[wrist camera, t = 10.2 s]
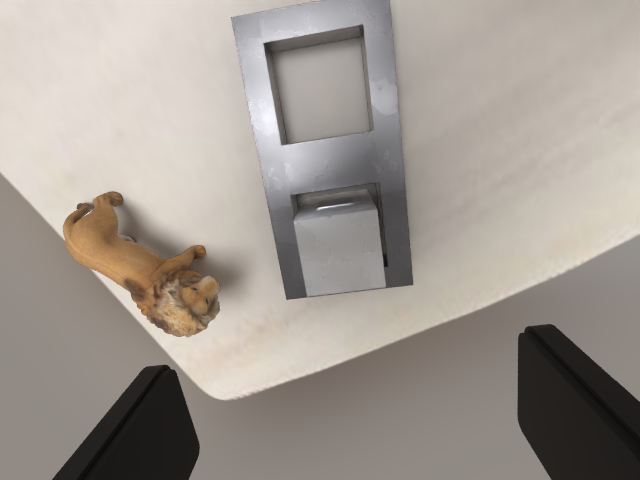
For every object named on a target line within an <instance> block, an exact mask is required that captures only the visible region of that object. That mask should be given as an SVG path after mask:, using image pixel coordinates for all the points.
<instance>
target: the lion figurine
mask: <svg viewBox="0 0 640 480" xmlns="http://www.w3.org/2000/svg"><path fill="white" fill-rule="evenodd" d="M121 201H122V198H121V196H120V194H118V193H116V192H108V193H104V194H102V195H100V196H98V197H96V198H94V200H93V204H94V209H93V211H92V212H91V213H90V214H88V215H86V214H87V213H88V212H90V210H91V209H90V207H89V206H88V205H87V204H86V203H84V204H82V203H80V204H78V205H77V209H78V210H76V211H74V212H73V213H72V214H70V215H69V216H68V217H67V219H66V220H65V222H64V225H63V233H64V237H65V245H66V247H67V249H68V251H69V252H70V254H71V255H72V256H73V258H74V259H75V260H76V261H77V262H79V263H80V264H81V265H83V266H86V267H88V268H91V269H93V270H95V271H97V272H100V273H101V274H103V275H105V276H106V277H108V278H110V279H111V280H113V281H114V282H116V283H117V284H119V285H120V286H122V287H123V288H125V289H126V290H128V291H129V292H131V297H132V299H133V301H134V302H136V303H137V307H138V308H139V309H141V313H142V314H143V315H146V316H147V320H150V323H154V324H155V325H156V326H157V327H158V328H161V329H163V330H164V332H165V333H167V334H172V335H174V336H177V337H181V336H184V335H185V336H186V337H190V336H191V335H195V334H197V333H199V332H201V331H202V330H204V329H206V328H207V326H208V323H209V322H210V321H211V320H213V319H214V318H215V317H216V315H217V314H218V313H219V311H220V305H219V301H218V297H217V295H216V294H217V293H218V292H219V291H220V285H219V281H218V280H217V279H216V278H215V277H212V276H206V277H204V278H203V277H202V276H201V275H200V274H199V273H198V272H195V271H194V270H193V269H191V268H189V267H190V264H191V262H192V260H194V259H198V260H199V259H202V258H203V257H204V256H205V250H204V248H203V246H200V245H198V246H193V247H190V248H189V249H188V250H186V251H185V252H184V253H183V254H181V255H178V256H175V257H170V258H168V259H167V260H166V261H165V260H164V259H162V258H161V257H160V256H158V255H157V254H156V253H154V252H153V251H151V250H149V249H147V248H145V247H143V246H141V245H139V244H136V243H135V242H134V240H133V239H132V238H131V237H129V236H126V235H120V234H118V220H117V215H116V213H115V211H114V209H113V208H112V206H114V207H116V206H118V205H121V204H122V202H121ZM84 215H86V216H84ZM83 216H84V217H83ZM82 217H83V218H82Z"/></svg>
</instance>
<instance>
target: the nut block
mask: <svg viewBox="0 0 640 480" xmlns="http://www.w3.org/2000/svg"><path fill="white" fill-rule="evenodd" d="M294 227H295V232H296V238H297V243H298V249H299V254H300V260H301V265H302V271H303V276H304V282H305V287H306V293H307V297H310V296H318V295H326V294H334V293H343V292H351V291H359V290H367V289H376V288H384V287H386V283H385V274H384V265H383V256H382V247H381V238H380V229H379V220H378V211H377V208H376V206H375V204H374V202H373V200H372V199H371V197H370V195H369V193H368V191H367V189H362V190H355V191H349V192H342V193H335V194H328V195H321V196H315V197H308V198H305V199H304V201H303V203H302V205H301V207H300V209H299V211H298V213H297V215H296V217H295V219H294Z"/></svg>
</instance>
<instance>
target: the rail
mask: <svg viewBox="0 0 640 480" xmlns="http://www.w3.org/2000/svg"><path fill="white" fill-rule="evenodd" d="M231 20H232V25H233V30H234V36H235V41H236V46H237V51H238V56H239V61H240V66H241V71H242V76H243V81H244V86H245V91H246V96H247V101H248V107H249V112H250V117H251V122H252V127H253V132H254V137H255V142H256V147H257V152H258V157H259V162H260V167H261V173H262V178H263V183H264V188H265V193H266V198H267V203H268V208H269V213H270V218H271V223H272V228H273V233H274V238H275V244H276V249H277V254H278V259H279V264H280V269H281V274H282V279H283V284H284V289H285V294H286V299H287V300H289V299H298V298H306V297H307V293H306V287H305V282H304V276H303V271H302V265H301V260H300V254H299V249H298V243H297V238H296V232H295V227H294V219H295V217H296V215H297V213H298V211H299V210H298V204H297V199H296V194H300V193H307V192H314V191H321V190H328V189H335V188H342V187H349V186H356V185H362V184H369V183H376V189H377V199H378V208H379V218H380V227H381V236H382V246H383V254H382V256H383V265H384V274H385V283H386V287H384V288H391V287H399V286H408V285H413V276H412V264H411V252H410V240H409V228H408V216H407V203H406V191H405V179H404V167H403V155H402V143H401V131H400V119H399V107H398V95H397V83H396V71H395V58H394V46H393V34H392V22H391V10H390V0H318V1H313V2H308V3H303V4H298V5H293V6H288V7H282V8H277V9H272V10H267V11H262V12H257V13H251V14H246V15H241V16H236V17H231ZM357 37H360V39H361V48H362V58H363V67H364V76H365V86H366V95H367V105H368V114H369V123H370V132H363V133H357V134H351V135H344V136H338V137H332V138H325V139H319V140H313V141H306V142H300V143H294V144H287V141H286V135H285V129H284V123H283V117H282V112H281V106H280V100H279V94H278V89H277V83H276V77H275V71H274V65H273V60H272V54H271V53H275V52H281V51H286V50H292V49H297V48H303V47H308V46H314V45H319V44H324V43H330V42H335V41H341V40H346V39H352V38H357ZM376 289H382V288H376ZM367 290H374V289H367ZM359 291H365V290H359ZM351 292H357V291H351ZM343 293H349V292H343ZM334 294H340V293H334ZM326 295H332V294H326ZM318 296H323V295H318ZM310 297H315V296H310Z"/></svg>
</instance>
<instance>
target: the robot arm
mask: <svg viewBox="0 0 640 480" xmlns="http://www.w3.org/2000/svg"><path fill="white" fill-rule="evenodd" d="M518 422H519V425H520V428H521V430H522V432H523V434H524V436H525V437H526V439H527V440H528V442H529V444H530V445H531V447H532V449H533V450H534V452H535V454H536V455H537V457H538V458H539V460H540V462H541V463H542V465H543V466H544V468H545V470H546V471H547V473H548V475H549V476H550V478H551V479H552V480H640V402H639V401H638V400H637V399H636V398H635V397H634V396H632V395H631V394H630V393H629V392H628V391H627V390H626V389H625V388H624V387H622V386H621V385H620V384H619V383H618V382H617V381H615V380H614V379H613V378H612V377H611V376H610V375H609V374H608V373H606V372H605V371H604V370H603V369H602V368H601V367H600V366H599V365H597V364H596V363H595V362H594V361H593V360H592V359H591V358H590V357H589V356H587V355H586V354H585V353H584V352H583V351H582V350H581V349H580V348H578V347H577V346H576V345H575V344H574V343H573V342H572V341H571V340H570V339H569V338H567V337H566V336H565V335H564V334H563V333H562V332H561V331H560V330H559V329H557V328H556V327H555V326H554V325H552V324H547V325H537V326H528V327H526V328H525V331H524V333H520V335H519V337H518ZM199 449H200V447H199V441H198V438H197V435H196V432H195V429H194V425H193V422H192V419H191V416H190V413H189V410H188V407H187V404H186V401H185V398H184V395H183V392H182V389H181V386H180V382H179V379H178V376H177V373H176V371H175V370H172V369H170V367H169V366H168V365H158V366H149V367H145V368H144V369H143V370H142V371H141V372H140V373H139V375H138V376H137V377H136V378H135V379H134V381H133V382H132V383H131V384H130V385H129V387H128V388H127V389H126V390H125V392H124V393H123V394H122V395H121V396H120V398H119V399H118V400H117V401H116V403H115V404H114V405H113V406H112V407H111V409H110V410H109V411H108V412H107V413H106V415H105V416H104V417H103V418H102V419H101V421H100V422H99V423H98V424H97V426H96V427H95V428H94V429H93V430H92V432H91V433H90V434H89V435H88V437H87V438H86V439H85V440H84V441H83V443H82V444H81V445H80V446H79V447H78V449H77V450H76V451H75V452H74V454H73V455H72V456H71V457H70V458H69V460H68V461H67V462H66V463H65V464H64V466H63V467H62V468H61V470H60V471H59V472H58V473H57V474H56V475H55V477H54V478H53V479H52V480H189V477H190V475H191V473H192V470H193V468H194V466H195V463H196V461H197V459H198V456H199Z"/></svg>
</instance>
